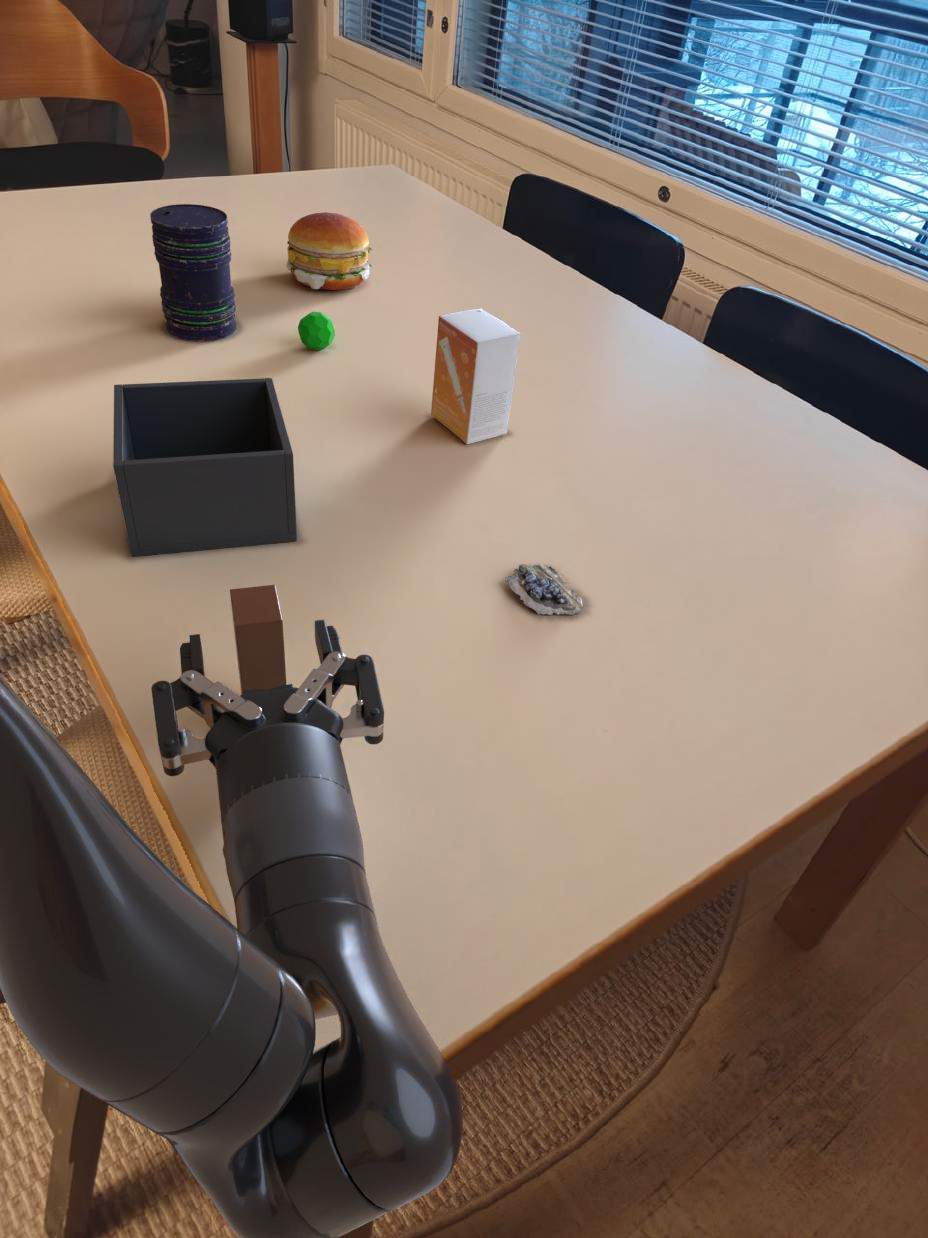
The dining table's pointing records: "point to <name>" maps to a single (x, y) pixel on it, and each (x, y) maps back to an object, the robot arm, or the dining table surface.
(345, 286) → the burger
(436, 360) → the small box
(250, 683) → the chocolate carton
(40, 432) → the dining table surface
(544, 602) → the grey flat lumpy piece
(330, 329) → the polyhedron
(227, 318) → the navy striped cylinder
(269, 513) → the waste bin
